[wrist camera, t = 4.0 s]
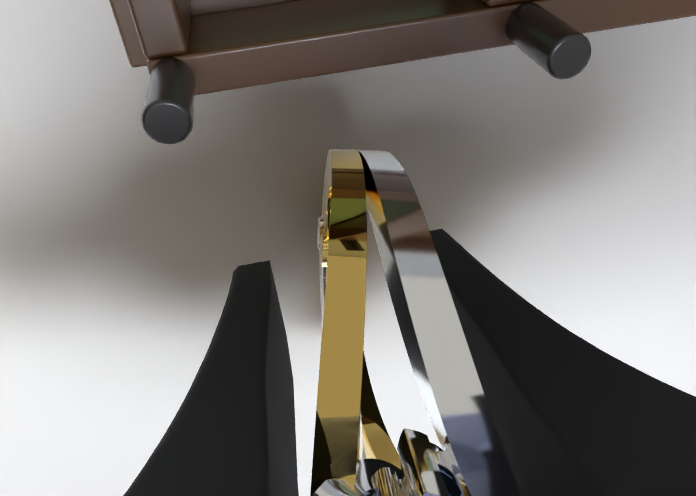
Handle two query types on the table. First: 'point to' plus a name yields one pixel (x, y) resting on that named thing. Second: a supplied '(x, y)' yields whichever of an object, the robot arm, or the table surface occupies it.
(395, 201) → the ring
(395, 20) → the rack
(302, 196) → the table surface
